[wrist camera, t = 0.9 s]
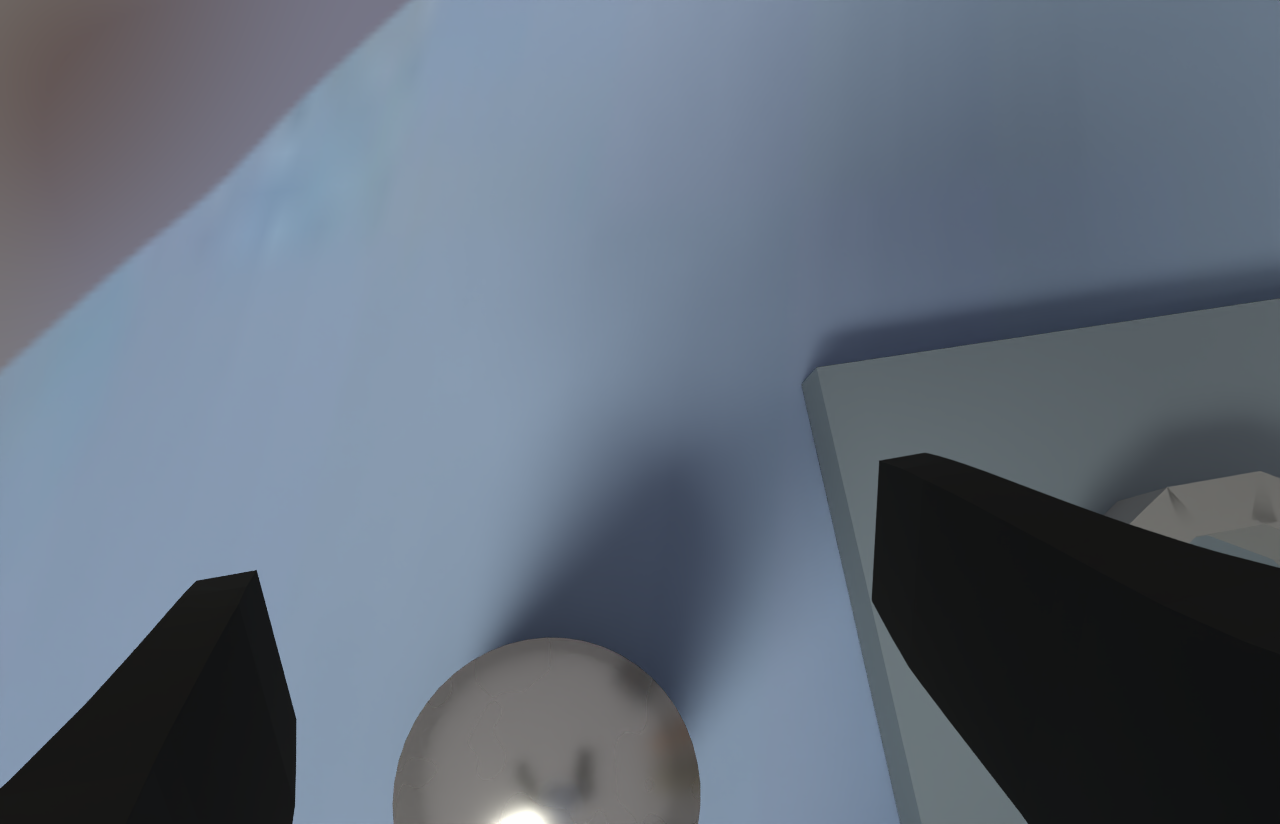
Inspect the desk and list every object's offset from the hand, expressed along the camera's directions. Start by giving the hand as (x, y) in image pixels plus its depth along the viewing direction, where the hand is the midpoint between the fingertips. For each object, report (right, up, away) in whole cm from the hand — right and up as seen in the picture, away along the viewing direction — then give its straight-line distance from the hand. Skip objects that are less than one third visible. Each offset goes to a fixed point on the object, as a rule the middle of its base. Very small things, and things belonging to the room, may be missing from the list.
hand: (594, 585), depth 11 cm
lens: (-2, -6, +12) cm, 13 cm away
